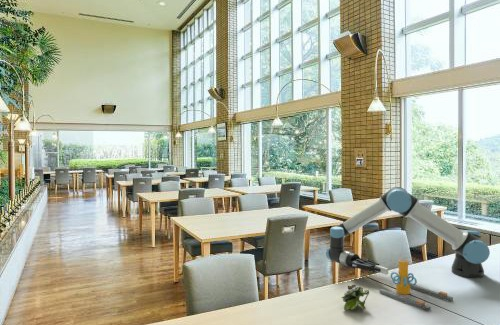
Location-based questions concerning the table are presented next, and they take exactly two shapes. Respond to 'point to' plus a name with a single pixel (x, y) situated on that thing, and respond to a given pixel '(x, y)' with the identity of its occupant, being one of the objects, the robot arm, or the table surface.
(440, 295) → the guide track
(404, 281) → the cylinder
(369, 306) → the table surface
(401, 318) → the table surface
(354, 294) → the passion flower
